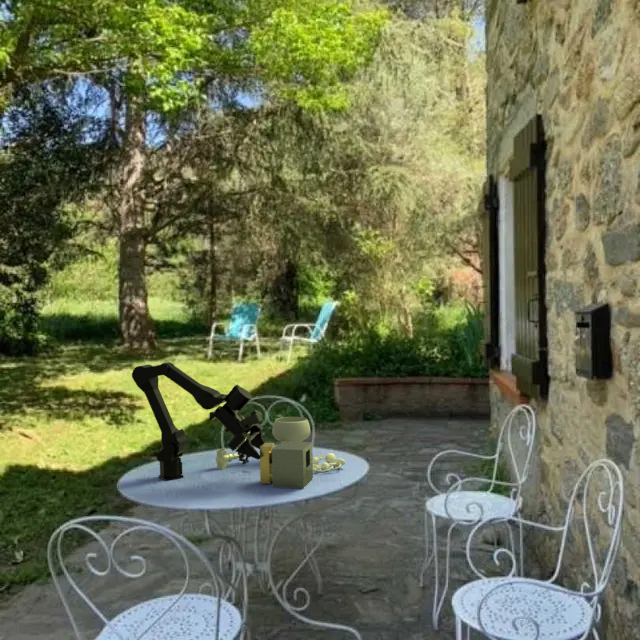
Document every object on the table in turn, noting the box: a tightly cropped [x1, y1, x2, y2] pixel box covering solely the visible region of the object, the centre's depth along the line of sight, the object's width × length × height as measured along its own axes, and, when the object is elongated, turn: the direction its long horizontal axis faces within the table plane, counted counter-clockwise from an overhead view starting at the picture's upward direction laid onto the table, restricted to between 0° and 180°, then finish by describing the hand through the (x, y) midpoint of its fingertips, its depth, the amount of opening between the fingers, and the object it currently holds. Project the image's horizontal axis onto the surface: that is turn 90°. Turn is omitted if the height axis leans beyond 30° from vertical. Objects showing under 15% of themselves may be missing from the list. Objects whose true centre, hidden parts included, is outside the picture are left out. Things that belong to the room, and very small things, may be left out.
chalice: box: [271, 416, 311, 443], centre depth 248 cm, size 14×14×15 cm
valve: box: [215, 448, 251, 470], centre depth 240 cm, size 7×7×12 cm
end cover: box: [259, 442, 275, 484], centre depth 216 cm, size 11×6×12 cm, turn 77°
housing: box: [272, 441, 314, 489], centre depth 215 cm, size 10×12×12 cm
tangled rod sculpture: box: [313, 452, 346, 473], centre depth 232 cm, size 19×14×4 cm
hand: (264, 455), depth 217 cm, fingers open, 9 cm apart
